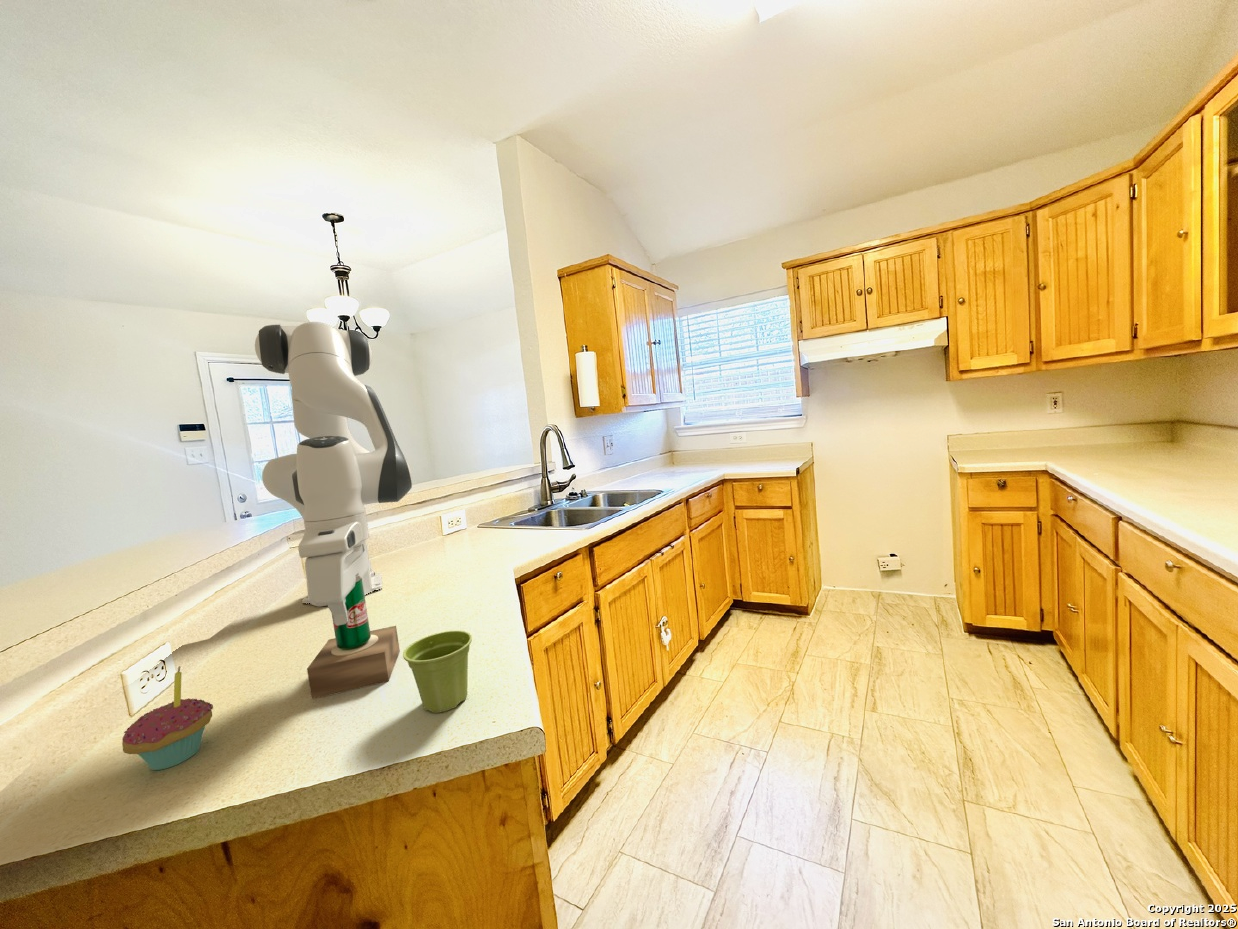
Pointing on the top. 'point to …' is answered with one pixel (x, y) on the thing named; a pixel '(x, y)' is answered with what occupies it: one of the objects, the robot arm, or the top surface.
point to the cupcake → (169, 731)
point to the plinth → (354, 664)
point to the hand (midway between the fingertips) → (350, 612)
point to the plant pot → (440, 668)
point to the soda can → (354, 620)
